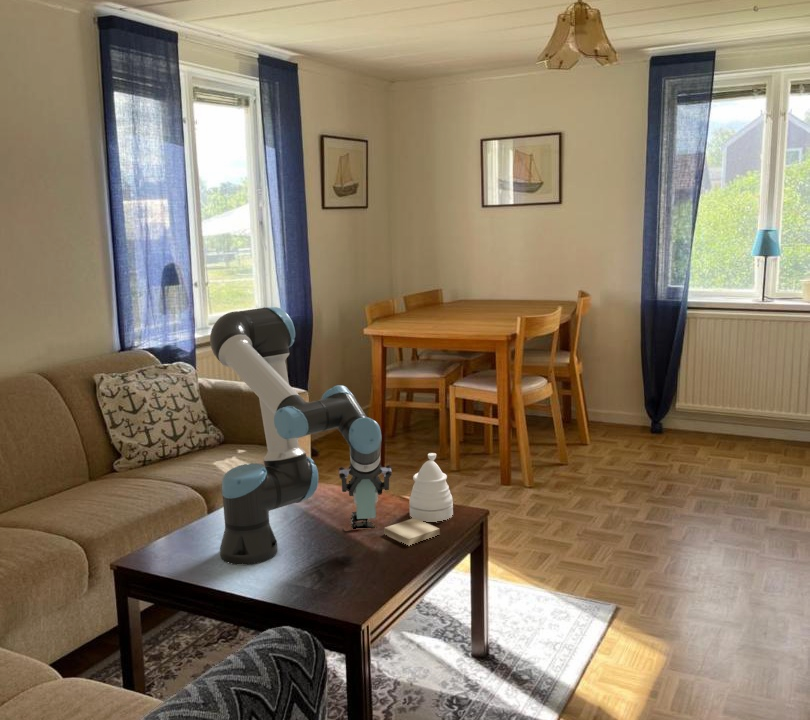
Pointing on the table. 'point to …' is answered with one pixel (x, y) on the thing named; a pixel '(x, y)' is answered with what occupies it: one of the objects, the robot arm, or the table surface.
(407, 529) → the base slab
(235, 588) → the table surface
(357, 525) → the black boxy piece
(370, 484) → the pillar block
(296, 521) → the table surface
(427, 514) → the honey pot
